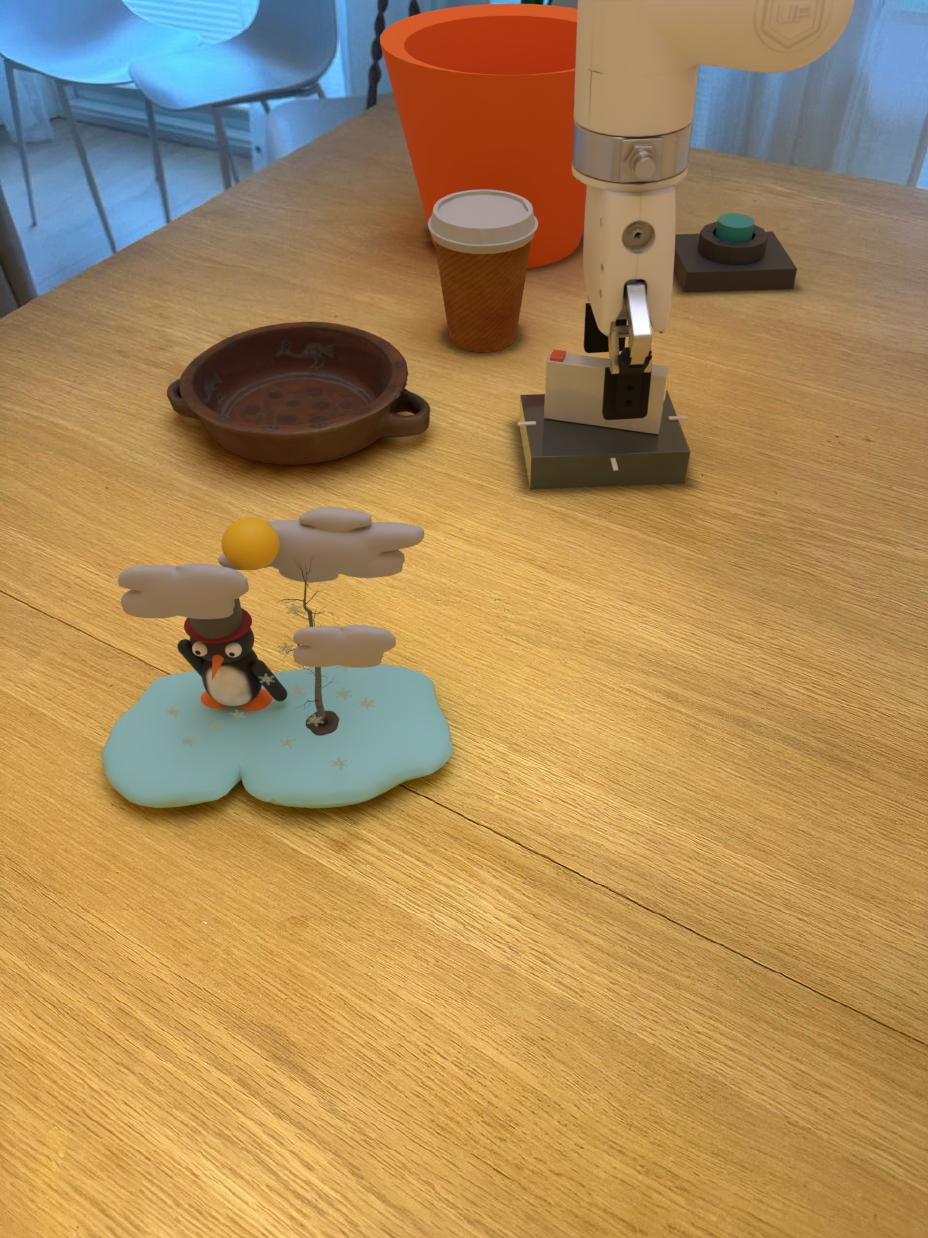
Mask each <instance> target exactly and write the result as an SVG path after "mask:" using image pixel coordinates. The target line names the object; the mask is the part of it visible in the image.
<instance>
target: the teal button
mask: <svg viewBox="0 0 928 1238" xmlns="http://www.w3.org/2000/svg"><path fill="white" fill-rule="evenodd" d="M716 222H717V228H716V234H715V237H717V238H719V239H721V240H723V241H728V242H747V241H750V240H752V235H753V229H754V225H756V220H755V219H754V218H753V217H751V216H749V215H747V214H743V213H736V212H735V213H734V212H733V213H724V214H722V215H721V214H720V215H719V216H718V218H717V221H716Z"/></svg>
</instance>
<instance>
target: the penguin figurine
mask: <svg viewBox="0 0 928 1238" xmlns="http://www.w3.org/2000/svg"><path fill="white" fill-rule="evenodd" d="M372 521H373V520H372V515H371V514H370V513H368V512H364V511H361V510H356V509H352V508H351V509H350V508H344V507H343V508H342V507H337V506H336V507H335V506H325V507H318V508H313V509H310V510H308V511H306V512H304V513H302V514H301V515H300V516H299V518H298V519H279V520H269V521H266V520H263V519H261V518H257V517H244V518H239V519H237V520H235V521H234V522H232V523H231V524H230V525H229V526H228V527H227V528H226V529H225V531H224V532H223V535H222V536H221V550H222V554H220V555H219V556H218V557H217V562H218V564H219V565H217V564H212V563H211V564H210V563H184V564H178V565H170V564H148V565H134V566H129V567H128V568H126V569H124V570H122V571H121V572H120V573H119V575H118V578H117V583H118V586H119V587H120V588H122V589H127V591H126V592H124V593H123V594H122V595H121V598H120V599H121V600H120V604H121V608H122V610H123V613H125V614H126V615H128V616H131V617H134V618H139V619H170V618H173V617H183V618H185V621H184V623H183V629H184V632H185V633H186V635H187V636H188V637H189V639H187V638H183V639H181V640H179V641H178V643H177V645H176V646H177V647H176V648H177V651H178V652H179V654H180V655H181V656H182V657H183V658H184V659H185V660H186V662H187V663H188V664H189V665H190V666H191V667H192V668H193V670H191V671H184V672H177V673H172V674H171V673H170V674H167V675H162V676H159V678H156V679H154V680H153V681H152V682H151V683H150V685H149V686H148V687H147V689H146V690H145V691H144V693H142V695H141V697H140V698H139V699H138V700H137V702H136V703H134V705H132V706H131V707H129V709H127V710H126V711H125V712H124V713H123V714H122V715H121V716H120V717H119V718H118V719H117V721H116V722H115V723H114V725H113V726H112V728H111V729H110V732H109V734H108V738H107V739H106V741H105V744H104V745H103V748H102V752H101V758H102V759H101V760H102V762H101V765H102V767H103V769H104V774H105V777H106V780H107V781H108V783H109V784H110V786H111V787H112V788H113V789H114V790H115V791H117V793H118V794H119V795H120V796H121V797H123V798H124V799H126V800H127V801H128V802H130V803H132V804H135V805H138V806H141V807H149V808H154V809H166V808H167V809H168V808H179V807H186V806H193V805H199V804H204V803H209V802H213V801H217V800H220V799H222V798H223V797H224V796H227V795H228V793H230V791H231V790H232V789H233V788H234V787H235V786H236V785H238V783H239V782H242V785H243V787H244V790H245V791H246V792H247V793H248V794H250V796H252V797H253V798H255V799H257V800H258V801H262V802H266V803H270V804H271V803H272V804H273V805H277V806H282V807H293V808H306V809H307V808H308V809H328V808H341V807H346V806H352V805H357V804H361V803H365V802H368V801H370V800H372V799H374V798H376V797H379V796H381V795H383V794H385V793H387V792H388V791H390V790H391V789H394V788H395V787H396V786H399V785H401V784H403V783H404V782H407V781H412V780H416V779H419V778H424V777H427V776H430V775H432V774H434V773H435V772H437V771H439V770H440V769H442V767H444V766H445V765H446V764H447V762H448V760H450V758H451V757H452V755H453V752H454V751H453V750H454V749H453V748H454V747H453V741H452V736H451V730H450V724H449V721H448V720H447V717H446V715H445V714H444V712H443V710H442V709H441V707H440V705H439V703H438V700H437V699H438V698H437V694H436V687H435V684H434V681H433V680H432V679H431V678H430V677H429V676H428V675H426V674H424V673H422V672H420V671H418V670H414V669H411V668H408V667H403V666H400V665H391V664H387V663H382V660H383V658H384V653H387V652H389V651H390V650H392V649H394V648H395V647H396V646H397V638H396V636H395V635H394V633H392V632H391V631H390V630H388V629H385V628H383V627H378V626H373V625H367V624H347V625H342V626H336V625H323V623H324V622H322V624H320V625H318V626H316V625H315V624H316V623H315V618H316V615H319V614H323V613H324V611H322V610H323V609H324V608H326V606H323V607H322V608H321V609H320V610H319V612H317V610H318V608H316V609H315V611H313V610H311V609H310V608H308V606H307V604H308V603H309V602H311V600H312V599H313V598H314V597H315V596H316V595H317V594H318V593H320V590H317V591H316V592H315V593H314V594H313V595H312V596H311V598H310V599H309V600H308V601H307V588H308V589H311V590H312V588H311V587H310V586H309V584H310V583H319V584H318V585H317V587H318V586H320V584H321V583H324V582H329V581H330V582H331V581H335V580H337V579H338V577H339V575H343V576H346V577H351V578H357V579H375V578H376V579H377V578H385V577H387V578H388V577H392V576H395V575H398V574H401V572H402V571H403V566H404V564H405V562H406V558H405V557H406V556H405V554H404V553H403V552H402V551H401V550H403V549H409V548H412V547H415V546H417V545H419V544H420V543H422V542H423V540H424V538H425V529H424V528H423V527H422V526H417V525H415V524H414V525H413V524H409V523H404V522H397V521H375V522H372ZM270 567H272V568H274V569H276V570H278V572H279V575H281V576H283V578H286V579H289V580H291V581H295V582H300V583H304V589H303V599H299V598H290V597H289V598H288V597H286V596H285V598H284V599H281V600H279V601H278V602H276V604H278V603H280V602H283V601H286V602H284V604H286V603H287V604H288V601H290V603H292V604H291V606H285V609H287V611H286V613H285V614H286V615H287V614H288V615H289V614H293V615H294V617H298V616H299V617H301V618H302V619H303V620H307V621H308V626H306V627H303V628H300V629H297V631H295V633H294V635H293V637H292V639H291V638H290V637H288V636H286V634H285V635H284V634H282V633H281V635H282V636H284V637H285V638H288V639H289V640H291V641H293V643H295V644H296V645H297V646H296V647H295V648H293V647H294V644H291V645H288V643H287V642H286V641H284V642H283V645H277V647H278V648H280V649H279V650H278V652H279V653H281V654H280V655H278V657H279V656H281V655H284V654H285V656H288V655H289V654H290V652H293V653H292V657H293V661H294V663H296V664H297V665H299V666H300V667H299V669H290V670H285V671H277V672H272V670H271V669H270V668H269V667H268V665H267V664H266V663H265V662H264V661H263V660H261V659H259V656H258V655H257V653H256V651H255V650H254V649H253V647H254V645H255V633H254V632H253V629H252V628H251V627H252V624H253V618H252V616H251V614H250V613H249V612H248V611H247V610H246V609H244V608H242V604H241V600H240V597H242V596H244V595H245V594H247V593H249V591H250V587H249V586H250V585H249V581H248V578H247V577H246V576H245V575H244V574H242V573H241V571H259V570H262V569H266V568H270ZM325 590H327V588H326V589H322V590H321V592H322V591H325ZM296 601H300V602H303V603H302V605H300V606H298V607H297V605H296V604H295V603H294V602H296ZM281 604H282V603H281ZM281 604H280V605H281ZM301 609H304V610H305V612H303V610H301ZM316 612H317V613H316ZM306 613H307V618H305V615H306ZM329 613H331V615H332V616H334V614H335V612H332V611H329ZM301 614H303V615H301ZM284 658H285V657H283V659H284Z"/></svg>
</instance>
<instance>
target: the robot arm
mask: <svg viewBox="0 0 928 1238" xmlns="http://www.w3.org/2000/svg"><path fill="white" fill-rule="evenodd" d="M854 5H855V0H577V9H578V10H577V38H576V65H575V93H574V102H575V104H574V119H573V147H572V174H573V176H574V177H575V178H576V179H577V180H579V181H580V182H582V183H584V184H586V186H587V189H586V203H585V220H584V230H583V244H582V245H583V246H582V247H583V251H582V253H583V256H582V258H583V259H582V263H583V264H582V265H583V267H582V268H583V269H582V271H583V280H584V281H583V282H584V287H585V290H586V295H587V301H588V302H585V308H584V309H585V311H584V328H583V329H584V330H583V351H584V352H585V353H586V354H599V353H600V354H601V353H608V359H609V363H610V367H605V375H604V390H603V406H602V414H603V418H604V419H605V420H621V419H639V418H644V417H646V416H647V413H648V403H649V393H650V383H651V373H652V364H653V354H652V342H653V332H654V333H659V334H665V333H666V332H667V331H668V330H669V328H670V326H671V316H672V301H673V300H672V299H673V285H674V254H675V234H676V229H677V228H676V227H677V226H676V225H677V224H676V222H677V207H676V206H677V205H676V204H677V203H676V185H677V184H679V183H681V182H682V181H683V180H684V179H685V178H686V177H687V175H688V167H689V159H690V151H691V142H692V133H693V125H694V116H695V115H694V114H695V106H696V97H697V96H696V95H697V88H698V79H699V78H698V77H699V70H700V69H699V68H700V66H708V67H717V68H723V69H731V70H737V71H743V72H751V73H760V74H761V73H762V74H777V73H778V74H779V73H786V72H790V71H794V70H798V69H800V68H803V67H805V66H807V65H810V64H811V63H813V62H815V61H817V60H818V59H820V58H822V56H823V55H825V54H826V53H827V52H828V51H829V50H831V48H832V47H833V46H834V45H835V44H836V43H837V41H838V40H839V39H840V37H841V36H842V35H843V33H844V31H845V29H846V27H847V25H848V23H849V21H850V18H851V15H852V14H853V13H852V12H853V9H854ZM652 330H653V332H652ZM626 338H628V340H627V346H626Z"/></svg>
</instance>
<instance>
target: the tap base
mask: <svg viewBox="0 0 928 1238" xmlns="http://www.w3.org/2000/svg"><path fill="white" fill-rule="evenodd" d="M544 404H545V393H532V394H531V393H529V394H520V395H519V421H517V427H519V433H520V438H521V445H522V451H523V456H524V462H525V469H526V473H527V474H526V475H527V481H528V485H529V486H528V487H529V489H530V490H549V489H550V490H552V489H578V488H602V487H603V488H604V487H629V486H631V487H632V486H654V485H655V486H657V485H679V484H680V485H682V484H686V480H687V475H688V467H689V462H690V456H691V450H690V447H689V444H688V442H687V438H686V437H685V434H684V431H683V429H682V425H681V423H680V421H687V420H688V418H687V416H686V415H677V412H676V409H675V407H674V403H673V401H672V399H671V396H670V393H669V390H668V389H666V395H665V402H664V410H663V417H662V424H661V428H660V431H659V434H652V433H645V432H638V431H631V430H624V429H617V428H609V427H602V426H595V425H588V424H581V423H574V422H567V421H560V420H553V419H546V418H544Z"/></svg>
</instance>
